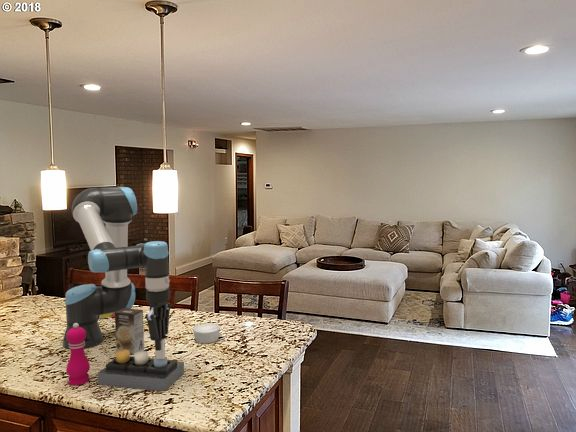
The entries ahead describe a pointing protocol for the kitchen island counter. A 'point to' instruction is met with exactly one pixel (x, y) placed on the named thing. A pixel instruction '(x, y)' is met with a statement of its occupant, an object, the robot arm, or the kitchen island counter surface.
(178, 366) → the button console
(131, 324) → the coffee box
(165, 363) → the blue button
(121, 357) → the amber button
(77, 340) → the pepper mill
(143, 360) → the cream rounded cylinder
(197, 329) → the ramekin
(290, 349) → the kitchen island counter surface
